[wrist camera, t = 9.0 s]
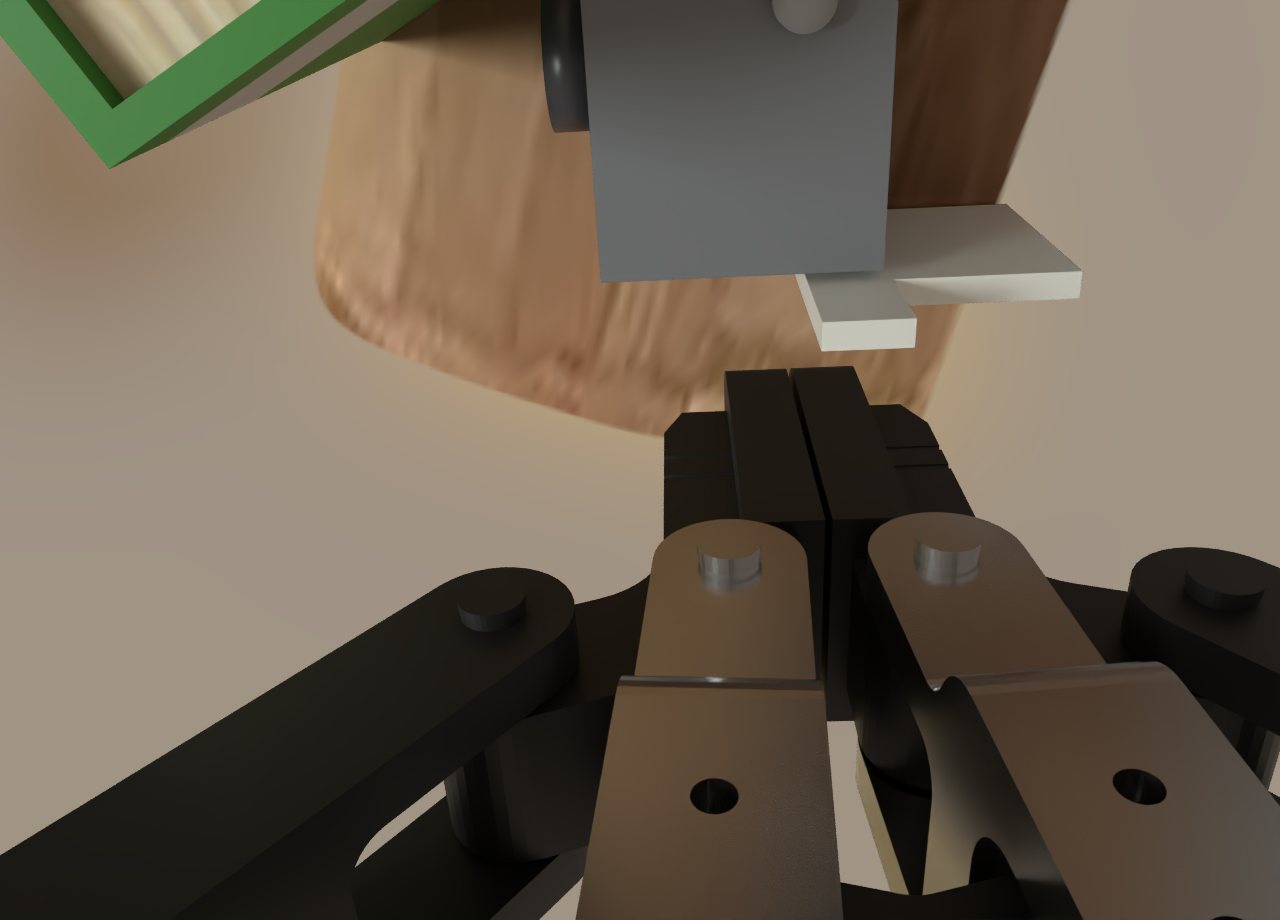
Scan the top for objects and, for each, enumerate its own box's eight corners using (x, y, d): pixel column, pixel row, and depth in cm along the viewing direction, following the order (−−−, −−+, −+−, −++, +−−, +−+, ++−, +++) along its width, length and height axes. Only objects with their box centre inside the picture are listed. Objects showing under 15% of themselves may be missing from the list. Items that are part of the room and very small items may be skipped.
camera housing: (552, -94, 41) (517, -94, 32) (853, -112, 41) (910, -118, 31) (577, 214, 47) (554, 293, 37) (842, 201, 46) (888, 278, 37)
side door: (782, 214, 46) (822, 322, 34) (1006, 203, 46) (1126, 309, 34) (782, 239, 47) (821, 354, 35) (1003, 229, 46) (1121, 342, 34)
